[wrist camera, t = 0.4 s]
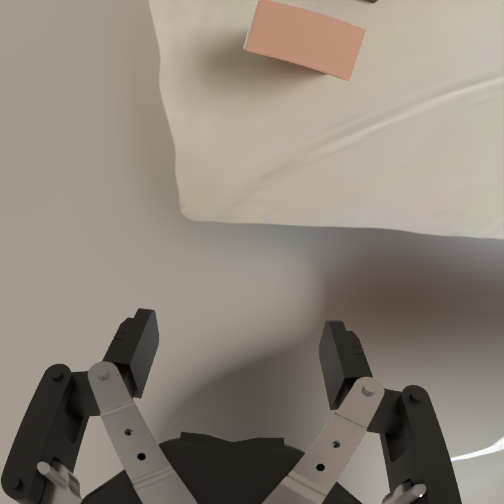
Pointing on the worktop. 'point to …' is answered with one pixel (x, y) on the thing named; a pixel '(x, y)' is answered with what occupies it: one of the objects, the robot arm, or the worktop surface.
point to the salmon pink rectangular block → (304, 38)
